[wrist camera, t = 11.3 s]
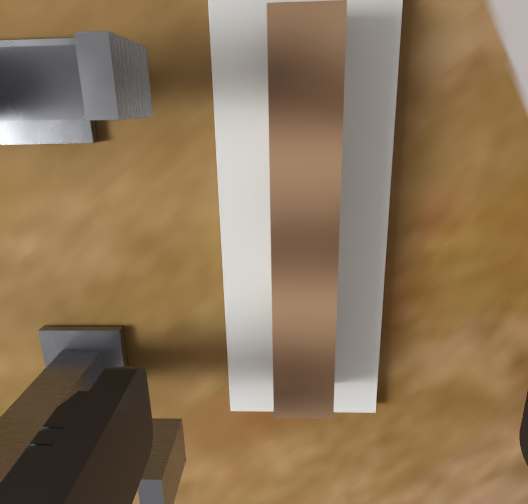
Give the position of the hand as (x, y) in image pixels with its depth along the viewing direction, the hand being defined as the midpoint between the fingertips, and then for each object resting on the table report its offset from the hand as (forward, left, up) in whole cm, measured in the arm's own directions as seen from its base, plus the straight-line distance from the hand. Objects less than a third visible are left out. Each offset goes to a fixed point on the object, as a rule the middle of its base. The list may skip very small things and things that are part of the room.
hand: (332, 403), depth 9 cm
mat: (0, 0, -16) cm, 16 cm away
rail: (0, 0, -15) cm, 15 cm away
